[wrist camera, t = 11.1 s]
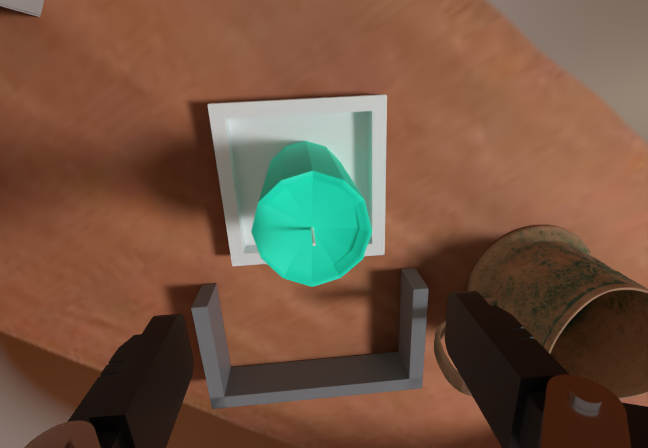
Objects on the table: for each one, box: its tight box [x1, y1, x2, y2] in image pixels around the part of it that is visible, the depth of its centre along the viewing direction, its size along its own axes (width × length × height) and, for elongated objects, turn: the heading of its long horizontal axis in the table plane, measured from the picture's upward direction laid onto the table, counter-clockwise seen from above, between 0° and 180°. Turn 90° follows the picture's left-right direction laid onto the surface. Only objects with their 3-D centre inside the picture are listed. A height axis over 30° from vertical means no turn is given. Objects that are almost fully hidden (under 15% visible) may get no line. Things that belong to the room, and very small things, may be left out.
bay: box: [191, 268, 429, 409], centre depth 31 cm, size 18×10×4 cm, turn 93°
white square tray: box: [207, 94, 387, 266], centre depth 27 cm, size 12×12×2 cm
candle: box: [251, 141, 372, 287], centre depth 22 cm, size 6×6×12 cm
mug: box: [434, 225, 648, 399], centre depth 27 cm, size 12×18×12 cm, turn 91°
